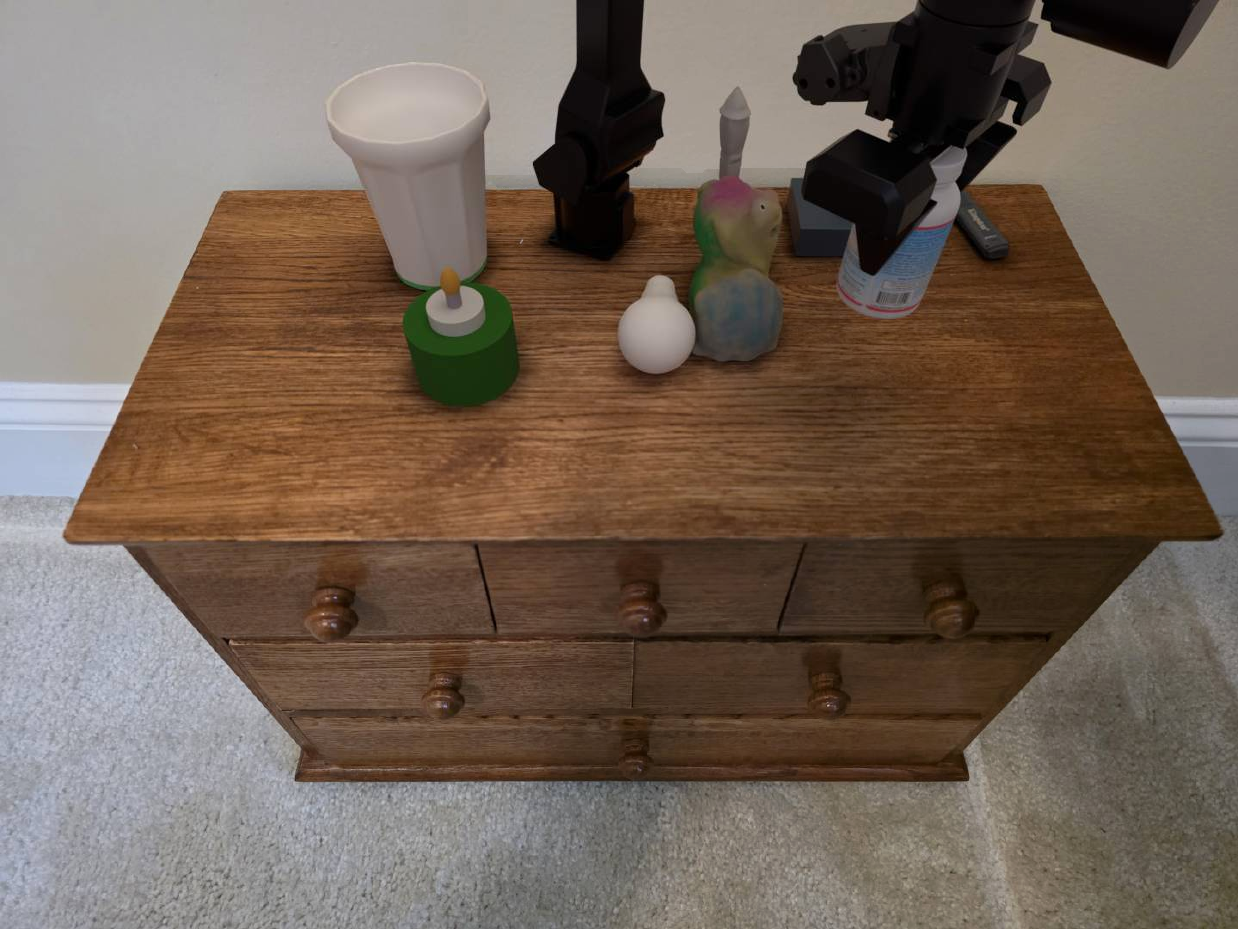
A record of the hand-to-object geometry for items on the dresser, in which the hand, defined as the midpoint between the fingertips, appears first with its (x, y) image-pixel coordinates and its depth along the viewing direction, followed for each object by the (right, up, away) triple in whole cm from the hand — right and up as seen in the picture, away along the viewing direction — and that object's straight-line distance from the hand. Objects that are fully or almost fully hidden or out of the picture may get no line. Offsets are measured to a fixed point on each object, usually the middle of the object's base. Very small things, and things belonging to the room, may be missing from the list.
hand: (894, 249), depth 54 cm
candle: (-31, -7, +11) cm, 33 cm away
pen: (-9, +8, +22) cm, 25 cm away
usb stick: (+15, +8, +22) cm, 28 cm away
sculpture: (-9, -1, +16) cm, 18 cm away
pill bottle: (0, -3, +3) cm, 4 cm away
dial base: (+4, +8, +22) cm, 24 cm away
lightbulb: (-15, +1, +15) cm, 21 cm away
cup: (-35, +4, +20) cm, 40 cm away
